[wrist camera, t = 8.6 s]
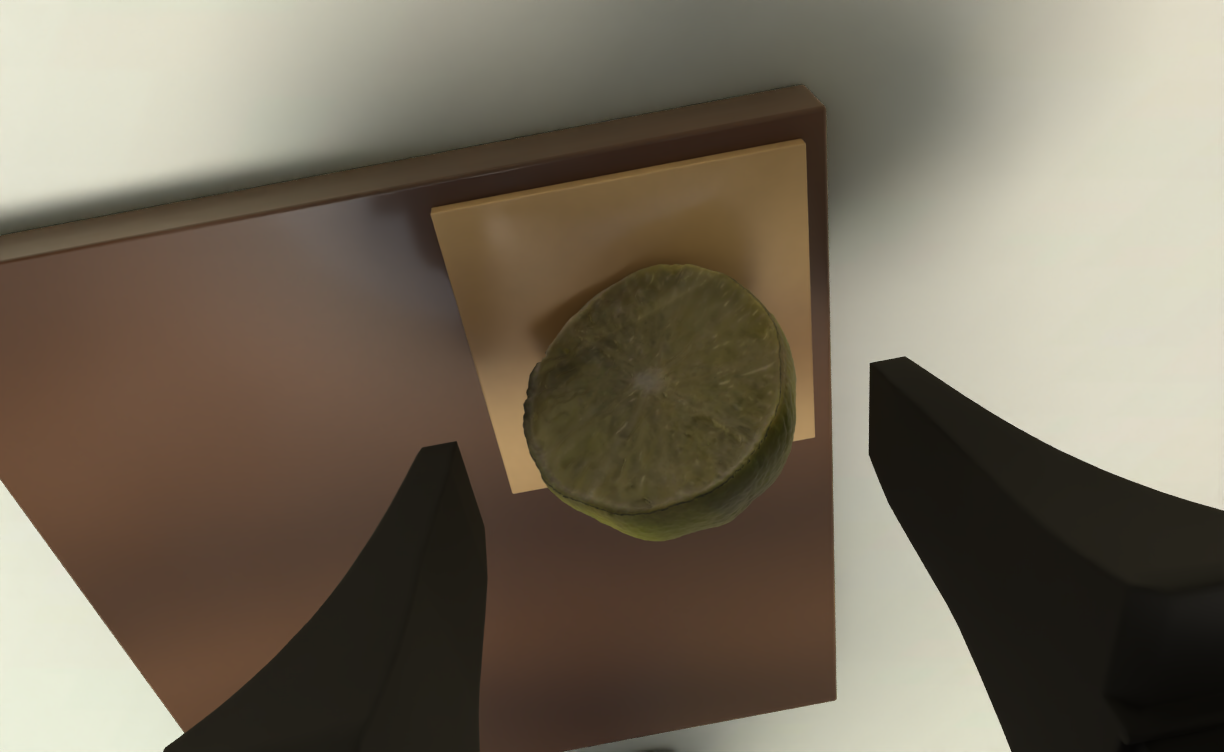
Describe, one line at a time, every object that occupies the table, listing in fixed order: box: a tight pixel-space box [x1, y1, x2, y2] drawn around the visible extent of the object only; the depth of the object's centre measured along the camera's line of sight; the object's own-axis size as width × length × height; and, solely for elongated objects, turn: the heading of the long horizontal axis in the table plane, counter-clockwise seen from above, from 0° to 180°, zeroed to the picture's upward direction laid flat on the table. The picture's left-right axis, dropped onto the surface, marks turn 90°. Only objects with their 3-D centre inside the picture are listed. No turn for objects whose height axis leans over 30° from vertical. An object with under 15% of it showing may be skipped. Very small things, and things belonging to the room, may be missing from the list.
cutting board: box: [0, 85, 837, 752], centre depth 22 cm, size 18×18×2 cm
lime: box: [523, 264, 797, 541], centre depth 16 cm, size 4×5×5 cm
